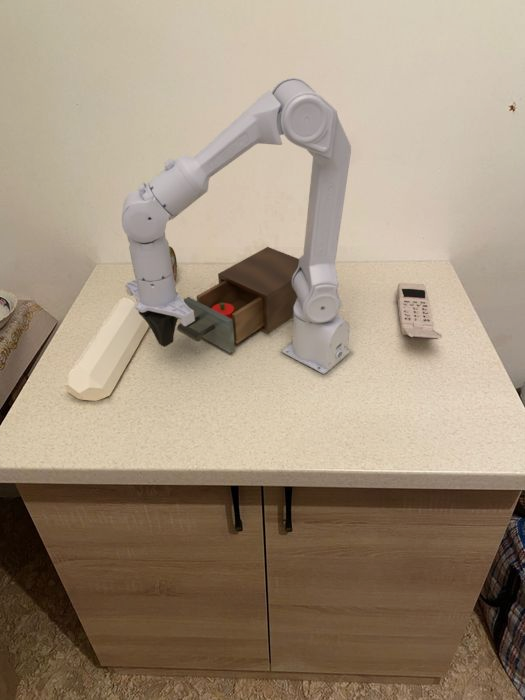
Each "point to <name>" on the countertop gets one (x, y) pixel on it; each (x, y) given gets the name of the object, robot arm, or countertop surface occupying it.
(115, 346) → the crystal
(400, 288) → the mobile phone
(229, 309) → the pepper
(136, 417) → the countertop surface
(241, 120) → the robot arm
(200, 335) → the drawer
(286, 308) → the cabinet
